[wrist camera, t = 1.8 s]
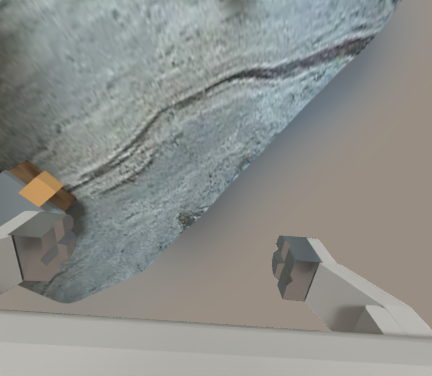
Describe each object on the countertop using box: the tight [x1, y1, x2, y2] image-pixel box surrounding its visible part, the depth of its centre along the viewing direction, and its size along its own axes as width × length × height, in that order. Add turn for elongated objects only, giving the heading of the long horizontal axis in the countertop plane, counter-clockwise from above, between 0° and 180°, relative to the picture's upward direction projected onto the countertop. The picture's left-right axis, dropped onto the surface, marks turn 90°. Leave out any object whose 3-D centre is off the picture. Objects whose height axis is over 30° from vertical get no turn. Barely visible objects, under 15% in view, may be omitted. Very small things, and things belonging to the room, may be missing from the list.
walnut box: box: [8, 160, 76, 212], centre depth 36 cm, size 9×11×5 cm
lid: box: [0, 170, 66, 227], centre depth 33 cm, size 9×15×3 cm, turn 127°
